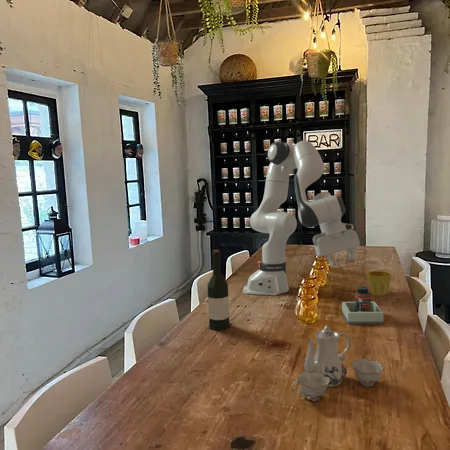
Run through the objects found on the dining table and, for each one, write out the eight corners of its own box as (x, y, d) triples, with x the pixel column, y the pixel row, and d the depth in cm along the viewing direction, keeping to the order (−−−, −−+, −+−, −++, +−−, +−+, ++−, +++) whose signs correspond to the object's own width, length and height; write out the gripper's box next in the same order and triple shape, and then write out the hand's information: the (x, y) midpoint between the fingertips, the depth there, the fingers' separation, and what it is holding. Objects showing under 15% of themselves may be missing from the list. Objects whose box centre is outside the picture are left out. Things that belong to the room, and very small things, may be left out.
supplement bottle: (362, 319, 164) (362, 290, 162) (351, 314, 169) (351, 287, 167) (373, 316, 166) (374, 288, 165) (362, 311, 172) (362, 284, 170)
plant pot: (366, 296, 194) (367, 275, 193) (367, 289, 204) (367, 270, 202) (391, 298, 191) (391, 276, 189) (390, 291, 200) (391, 271, 199)
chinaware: (310, 418, 106) (313, 358, 102) (273, 383, 121) (275, 329, 117) (392, 389, 118) (397, 334, 114) (350, 360, 133) (354, 310, 129)
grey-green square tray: (348, 324, 162) (348, 312, 161) (342, 312, 175) (342, 302, 174) (383, 324, 161) (383, 312, 160) (374, 312, 173) (374, 301, 173)
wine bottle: (233, 323, 167) (230, 248, 163) (226, 331, 160) (222, 253, 155) (213, 321, 170) (209, 248, 166) (205, 329, 162) (201, 252, 158)
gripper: (315, 234, 171) (326, 267, 169) (356, 223, 179) (366, 255, 177) (307, 237, 177) (317, 269, 175) (347, 227, 185) (357, 258, 182)
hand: (342, 262), depth 176 cm, fingers open, 8 cm apart
